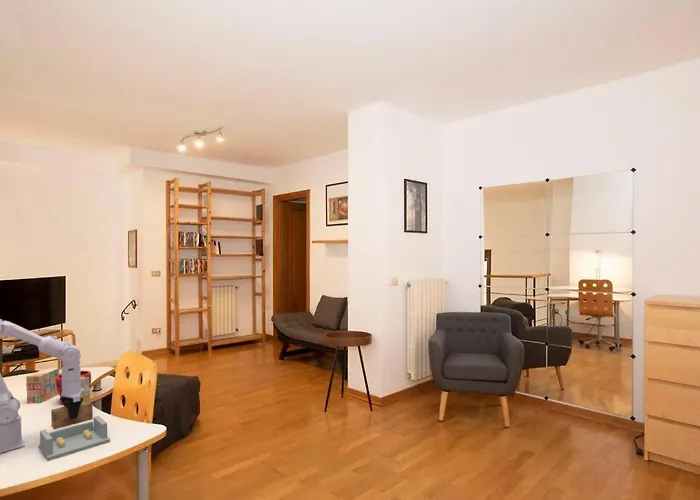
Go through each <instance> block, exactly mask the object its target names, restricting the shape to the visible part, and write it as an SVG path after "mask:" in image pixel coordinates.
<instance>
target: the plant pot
mask: <svg viewBox="0 0 700 500" xmlns="http://www.w3.org/2000/svg"><path fill="white" fill-rule="evenodd" d="M80 375H81V376H85V377H89V388H91V385H92V372H91V371H90V370H80ZM56 386H57V391H58V393H59V399H58V401H59V402H60V403H61V404H63V402H62V400H61V399H60V397H63V396H62V395H61V393H62V374H61V375H59V376H57V377H56Z"/></svg>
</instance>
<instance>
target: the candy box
mask: <svg viewBox="0 0 700 500" xmlns="http://www.w3.org/2000/svg"><path fill="white" fill-rule="evenodd" d="M80 376H81V375H80ZM90 388H91V387H90ZM90 388H89V377H85V376H81V389H84V392H81V394H80V398H83V401H82V402H86V401H90V402H91V393H90V392H91V391H90Z"/></svg>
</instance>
